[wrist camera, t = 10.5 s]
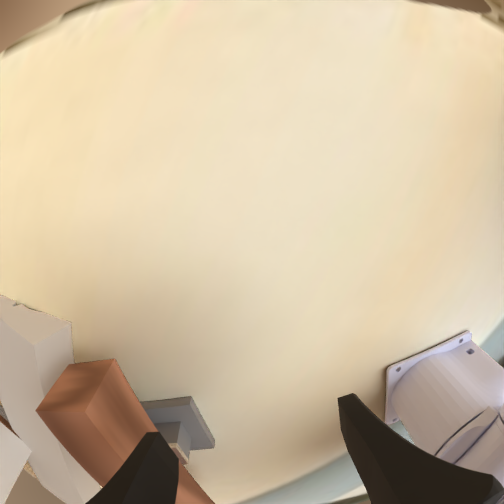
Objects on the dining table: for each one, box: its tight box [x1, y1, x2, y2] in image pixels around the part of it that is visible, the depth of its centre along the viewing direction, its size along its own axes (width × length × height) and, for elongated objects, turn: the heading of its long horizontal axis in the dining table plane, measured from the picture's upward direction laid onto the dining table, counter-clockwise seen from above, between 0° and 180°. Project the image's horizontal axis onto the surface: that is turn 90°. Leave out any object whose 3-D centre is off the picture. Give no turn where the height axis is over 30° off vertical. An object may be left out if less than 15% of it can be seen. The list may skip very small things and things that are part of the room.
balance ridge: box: [140, 397, 215, 464], centre depth 21 cm, size 8×6×4 cm
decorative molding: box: [0, 295, 101, 504], centre depth 23 cm, size 34×5×10 cm
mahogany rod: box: [35, 359, 215, 504], centre depth 16 cm, size 4×20×5 cm, turn 14°
